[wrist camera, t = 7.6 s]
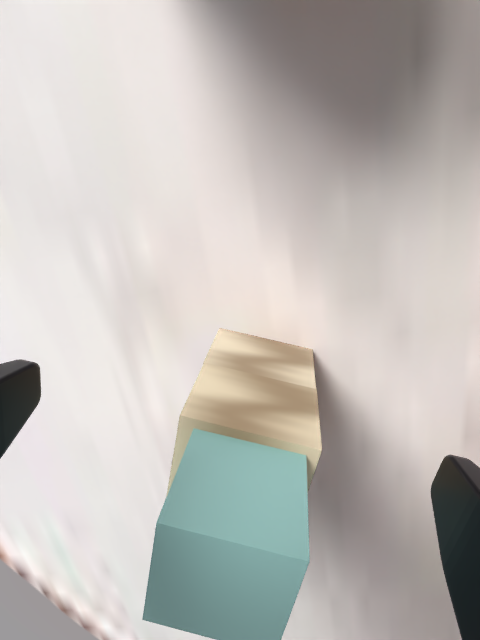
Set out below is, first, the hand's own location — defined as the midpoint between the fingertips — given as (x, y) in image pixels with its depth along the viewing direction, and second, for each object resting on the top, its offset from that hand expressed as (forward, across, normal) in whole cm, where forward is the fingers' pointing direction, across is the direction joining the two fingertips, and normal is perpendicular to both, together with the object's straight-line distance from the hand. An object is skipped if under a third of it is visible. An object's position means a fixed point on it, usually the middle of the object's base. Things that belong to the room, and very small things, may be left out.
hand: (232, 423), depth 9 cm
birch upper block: (+8, 0, +6) cm, 10 cm away
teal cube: (+4, 0, +6) cm, 7 cm away
